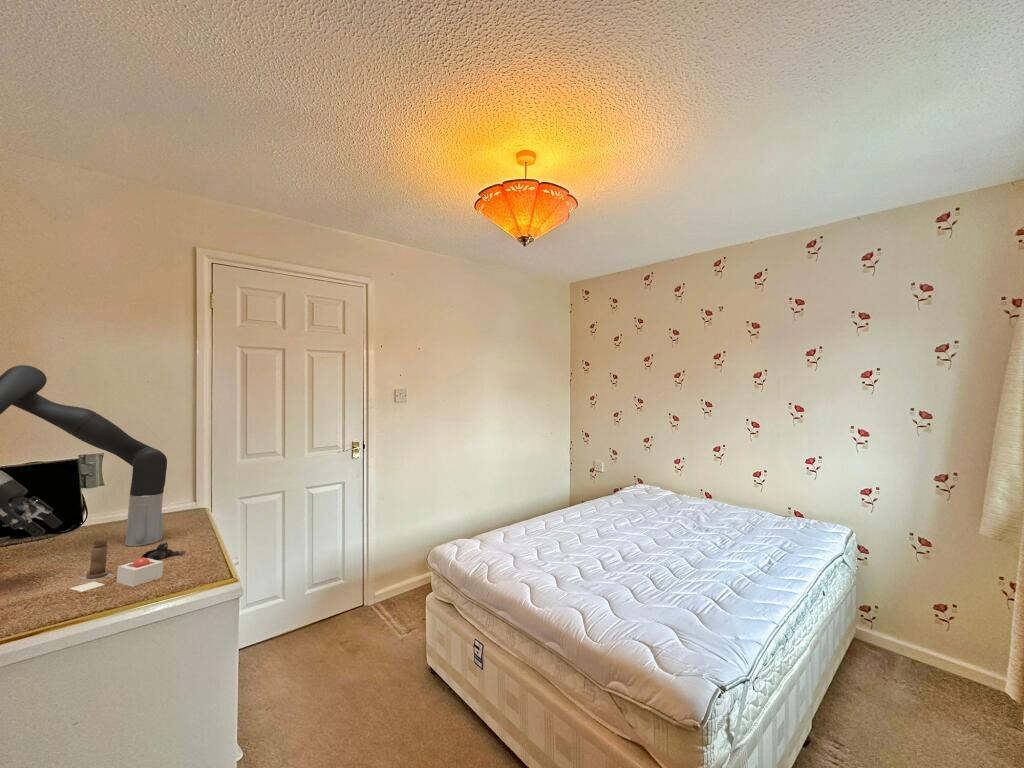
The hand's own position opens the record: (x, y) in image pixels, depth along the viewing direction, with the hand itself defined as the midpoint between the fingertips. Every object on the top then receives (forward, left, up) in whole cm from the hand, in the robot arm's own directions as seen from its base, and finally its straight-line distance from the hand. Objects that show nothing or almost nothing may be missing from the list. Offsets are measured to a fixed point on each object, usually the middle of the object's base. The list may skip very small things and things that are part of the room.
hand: (50, 530), depth 114 cm
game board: (-7, +15, -15) cm, 22 cm away
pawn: (-8, +8, -14) cm, 17 cm away
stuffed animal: (-24, +8, -16) cm, 30 cm away
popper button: (-11, +21, -13) cm, 27 cm away
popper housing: (-11, +21, -15) cm, 27 cm away
